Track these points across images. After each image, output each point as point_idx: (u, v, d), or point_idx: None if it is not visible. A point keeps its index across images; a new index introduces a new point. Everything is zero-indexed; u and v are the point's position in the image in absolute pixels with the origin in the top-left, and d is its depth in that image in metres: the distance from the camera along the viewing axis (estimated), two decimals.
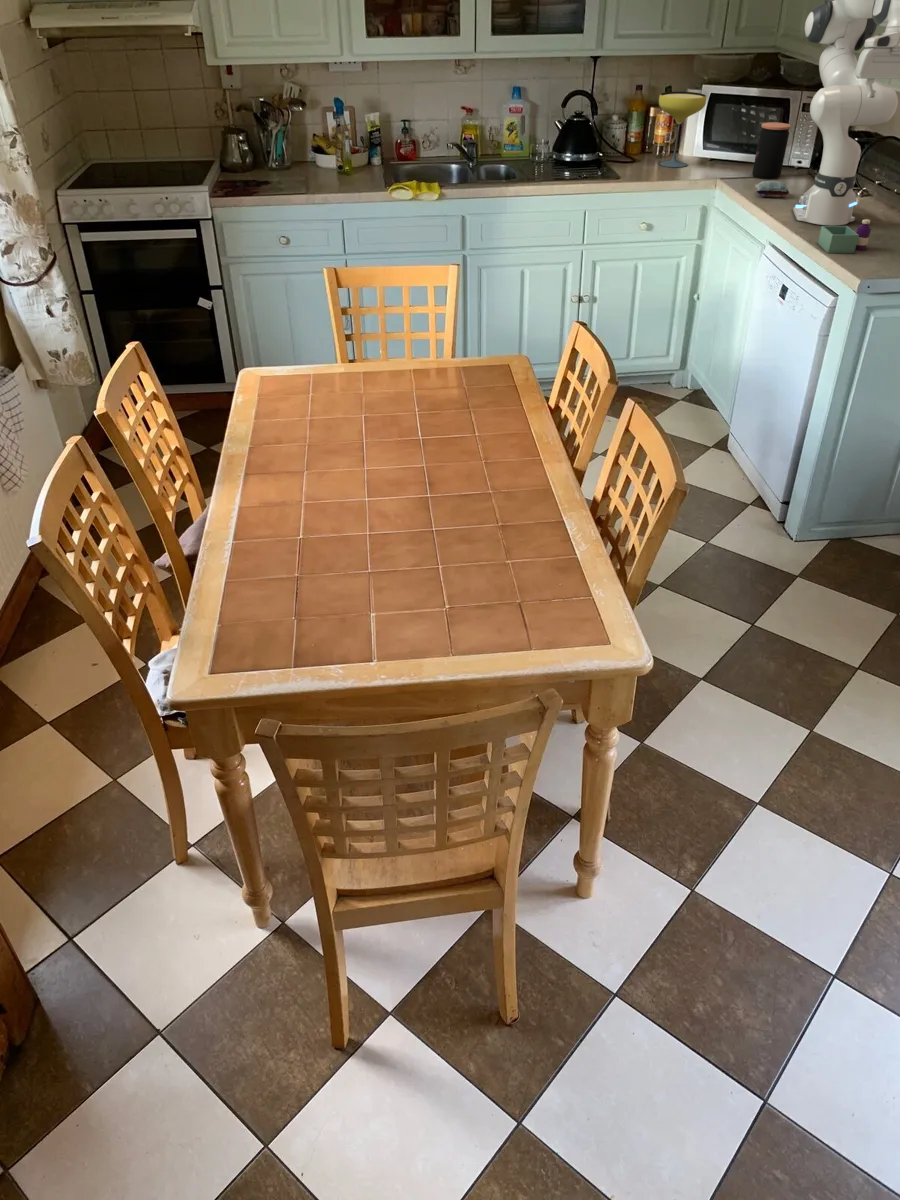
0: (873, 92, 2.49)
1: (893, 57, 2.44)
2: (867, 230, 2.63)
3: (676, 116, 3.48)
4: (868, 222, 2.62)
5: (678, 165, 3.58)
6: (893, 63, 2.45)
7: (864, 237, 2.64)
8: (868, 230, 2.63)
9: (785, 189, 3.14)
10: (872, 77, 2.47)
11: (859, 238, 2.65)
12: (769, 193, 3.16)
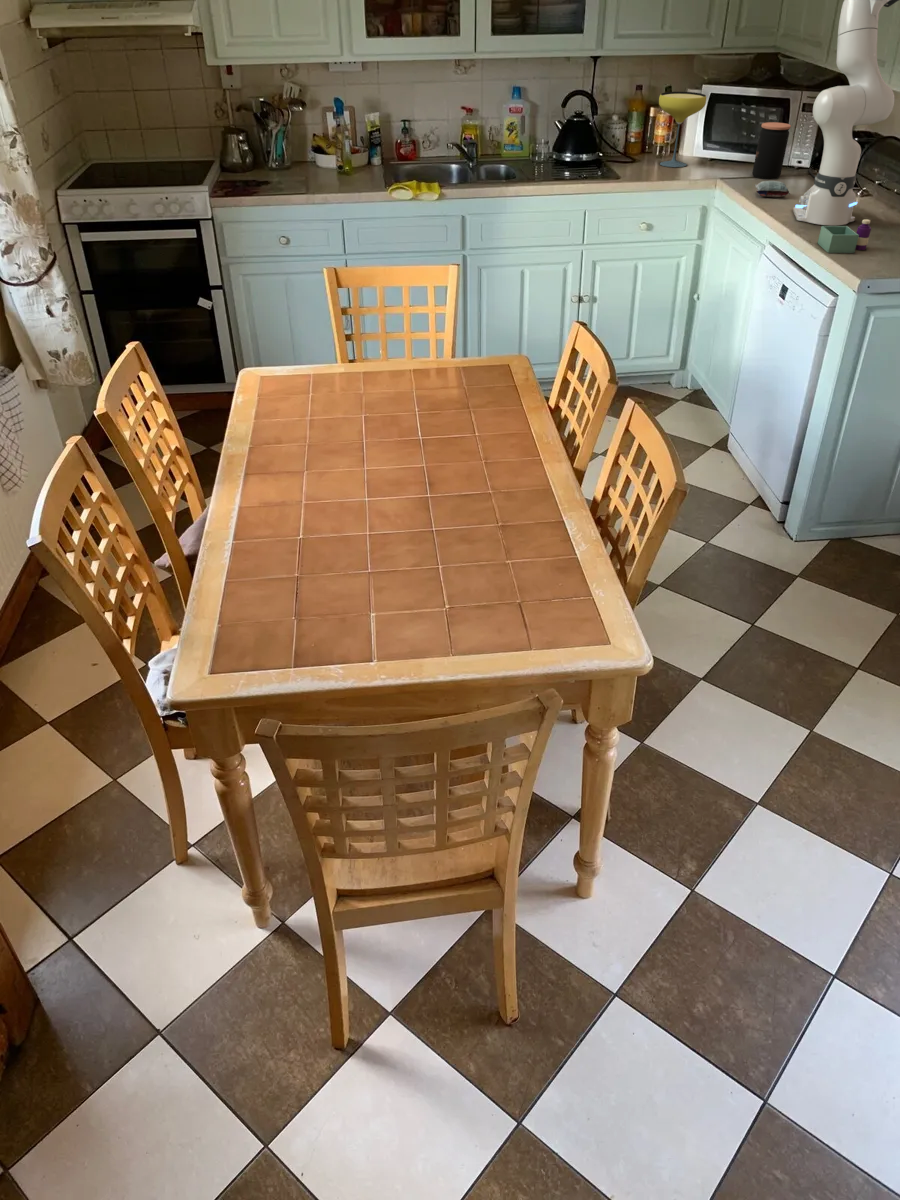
0: None
1: None
2: (867, 230, 2.63)
3: (676, 116, 3.48)
4: (868, 222, 2.62)
5: (678, 165, 3.58)
6: None
7: (864, 237, 2.64)
8: (868, 230, 2.63)
9: (785, 189, 3.14)
10: None
11: (859, 238, 2.65)
12: (769, 193, 3.16)
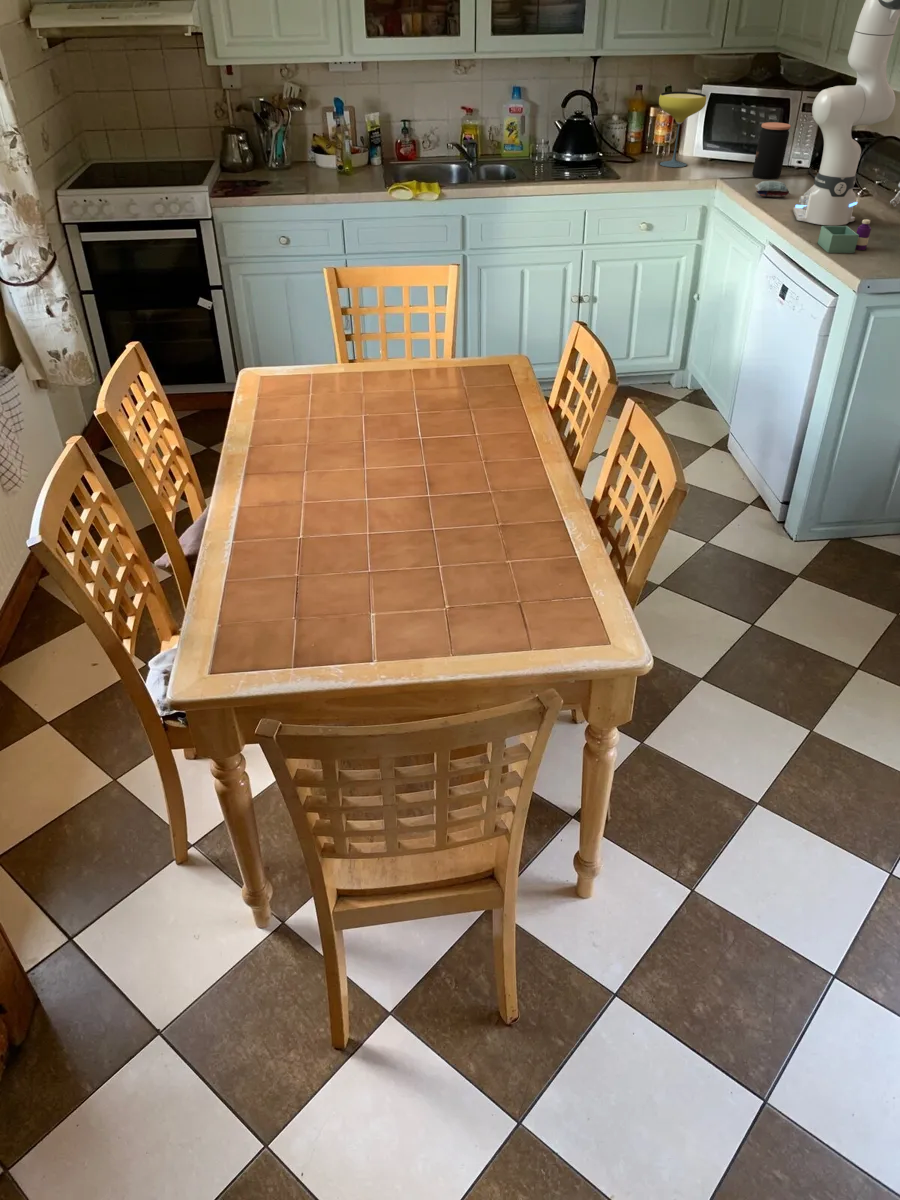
0: None
1: None
2: (867, 230, 2.63)
3: (676, 116, 3.48)
4: (868, 222, 2.62)
5: (678, 165, 3.58)
6: None
7: (864, 237, 2.64)
8: (868, 230, 2.63)
9: (785, 189, 3.14)
10: None
11: (859, 238, 2.65)
12: (769, 193, 3.16)
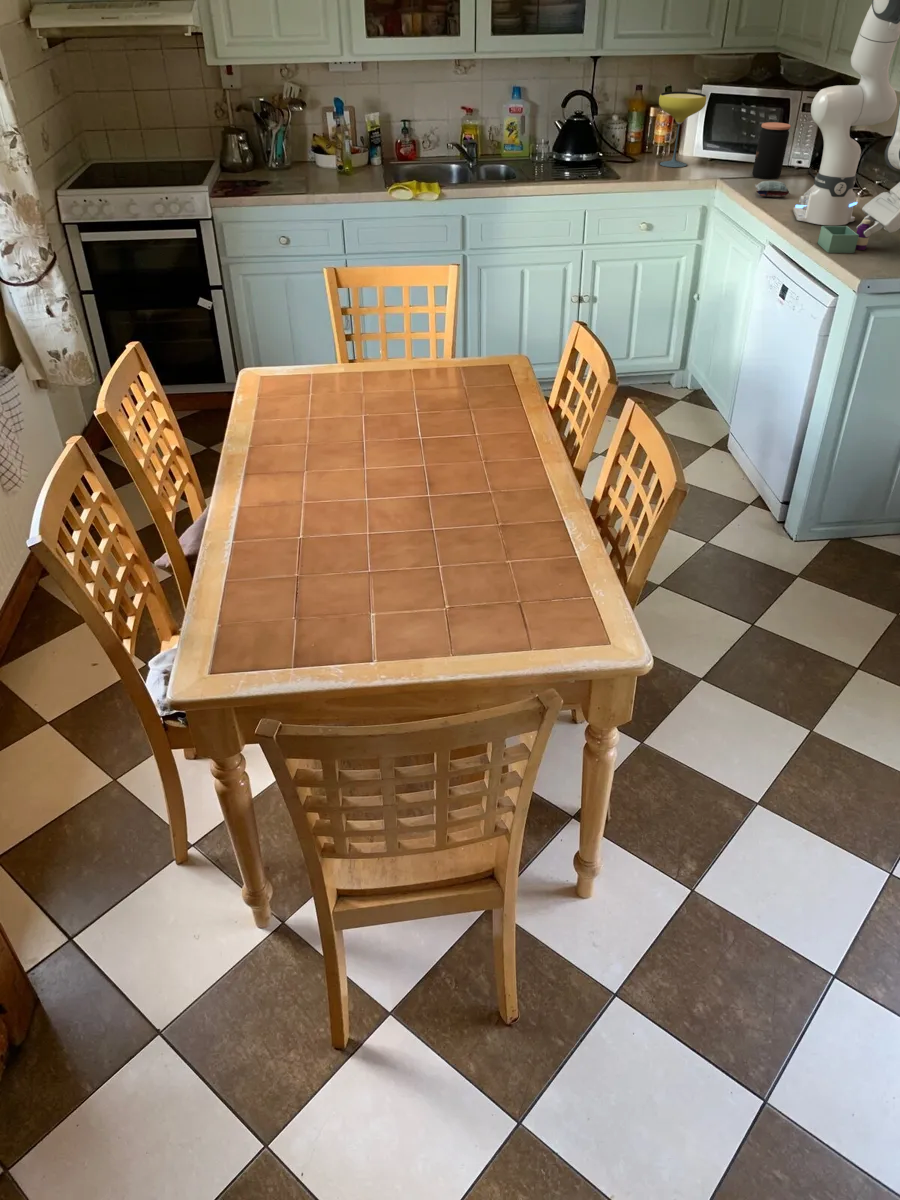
0: None
1: None
2: None
3: (676, 116, 3.48)
4: (868, 222, 2.62)
5: (678, 165, 3.58)
6: None
7: (864, 237, 2.64)
8: None
9: (785, 189, 3.14)
10: None
11: (859, 238, 2.65)
12: (769, 193, 3.16)
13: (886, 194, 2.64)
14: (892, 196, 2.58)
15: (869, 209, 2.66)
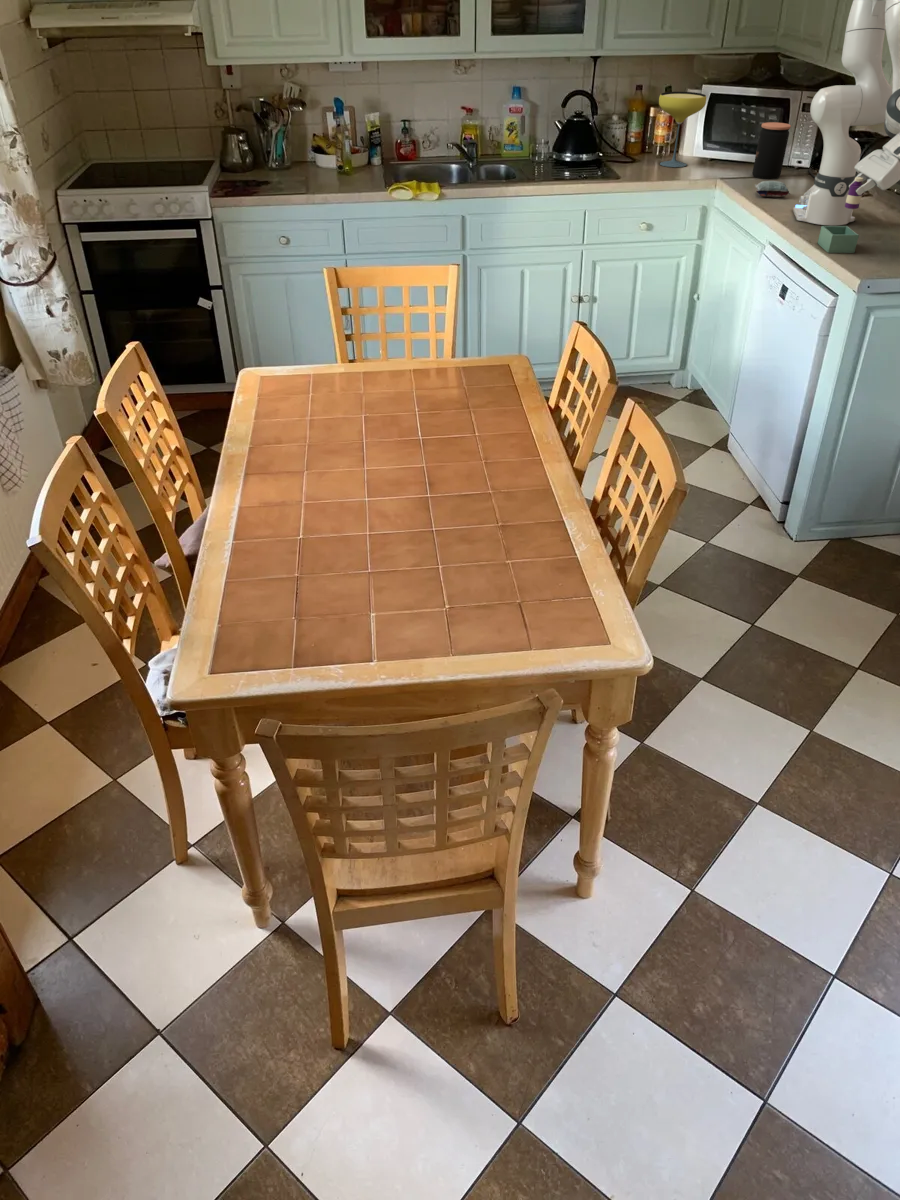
0: None
1: None
2: None
3: (676, 116, 3.48)
4: (861, 180, 2.55)
5: (678, 165, 3.58)
6: None
7: (857, 195, 2.57)
8: None
9: (785, 189, 3.14)
10: None
11: (851, 196, 2.58)
12: (769, 193, 3.16)
13: (879, 151, 2.57)
14: (885, 152, 2.51)
15: (861, 167, 2.59)
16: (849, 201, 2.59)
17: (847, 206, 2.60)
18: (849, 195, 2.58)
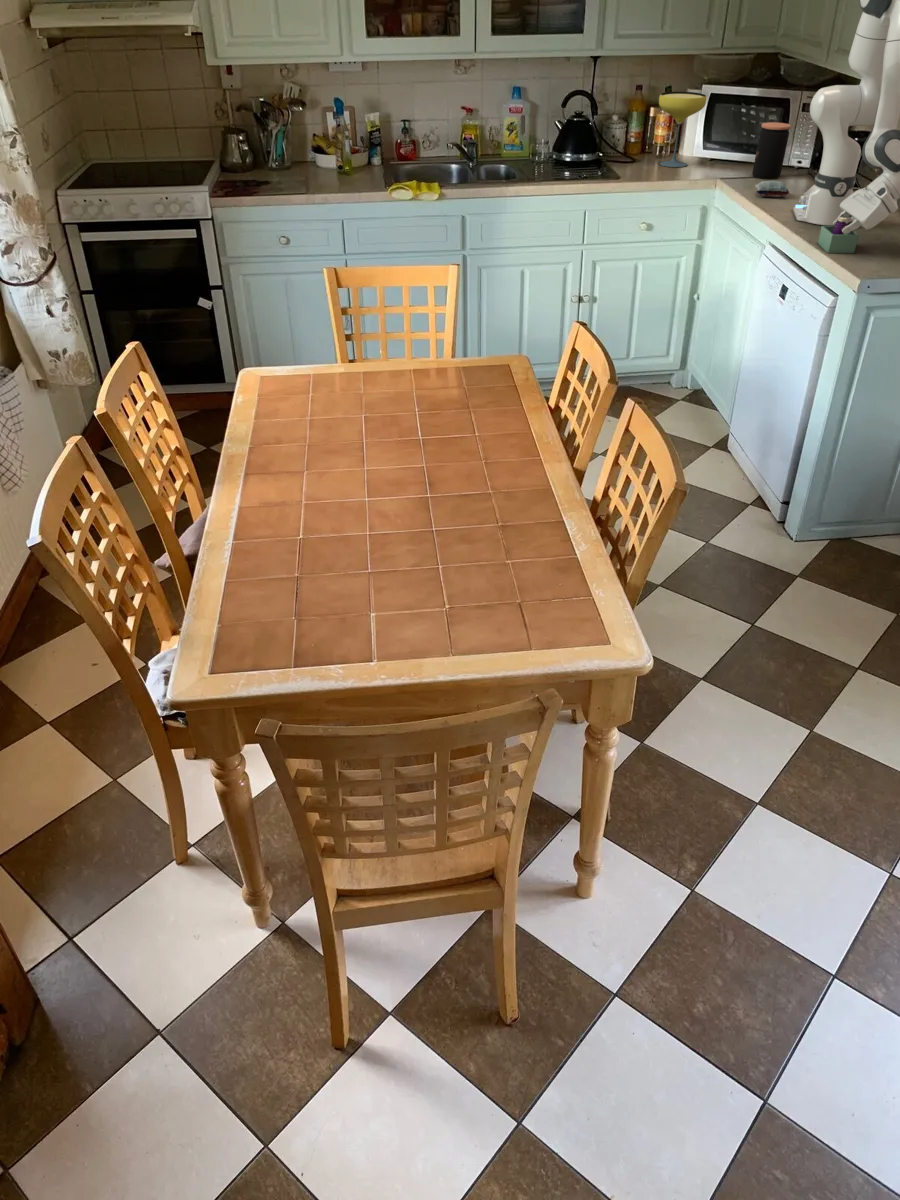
0: None
1: None
2: None
3: (676, 116, 3.48)
4: (845, 220, 2.62)
5: (678, 165, 3.58)
6: None
7: None
8: None
9: (785, 189, 3.14)
10: None
11: None
12: (769, 193, 3.16)
13: (863, 190, 2.63)
14: (869, 192, 2.58)
15: (846, 206, 2.65)
16: None
17: None
18: (834, 234, 2.65)
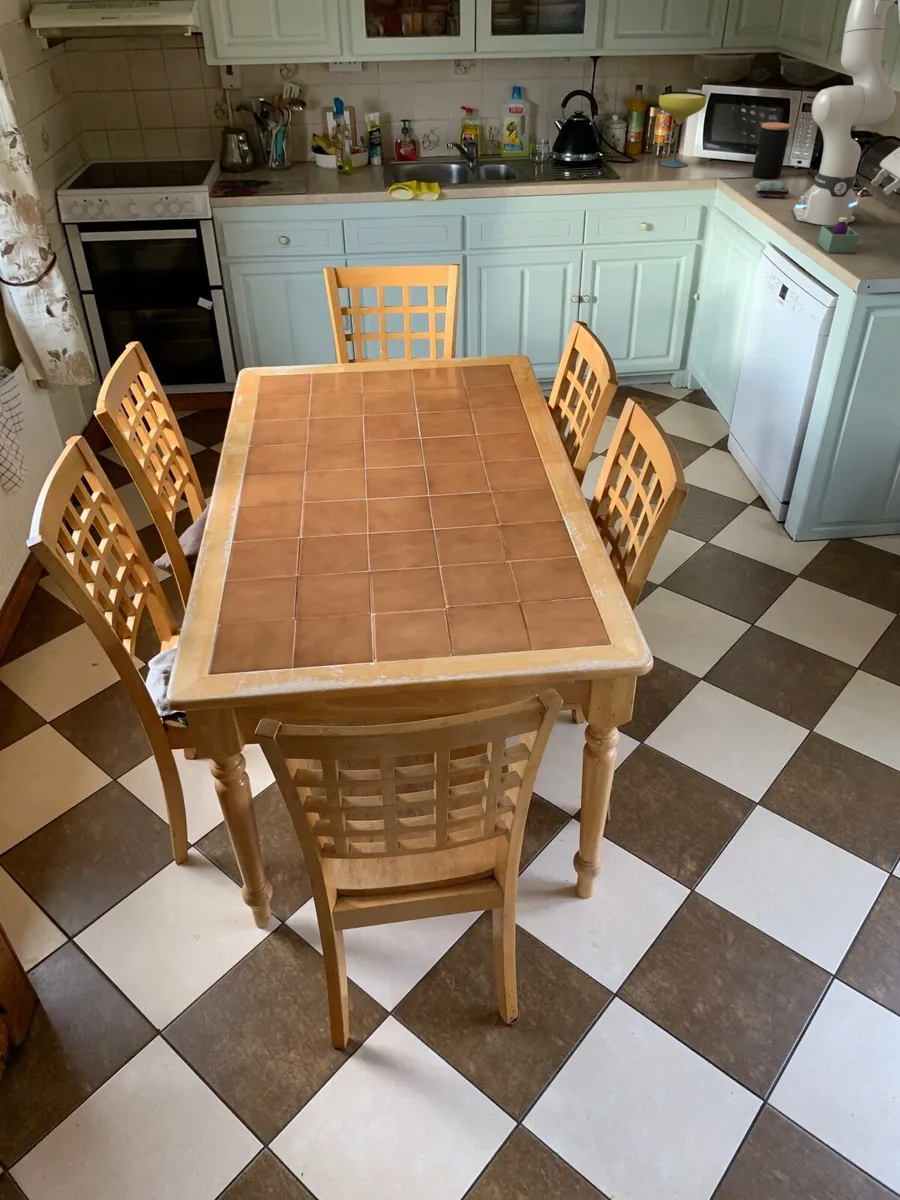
0: None
1: None
2: (844, 228, 2.62)
3: (676, 116, 3.48)
4: (845, 220, 2.62)
5: (678, 165, 3.58)
6: None
7: None
8: (845, 228, 2.62)
9: (785, 189, 3.14)
10: None
11: None
12: (769, 193, 3.16)
13: None
14: None
15: (886, 164, 2.58)
16: None
17: None
18: (834, 234, 2.65)
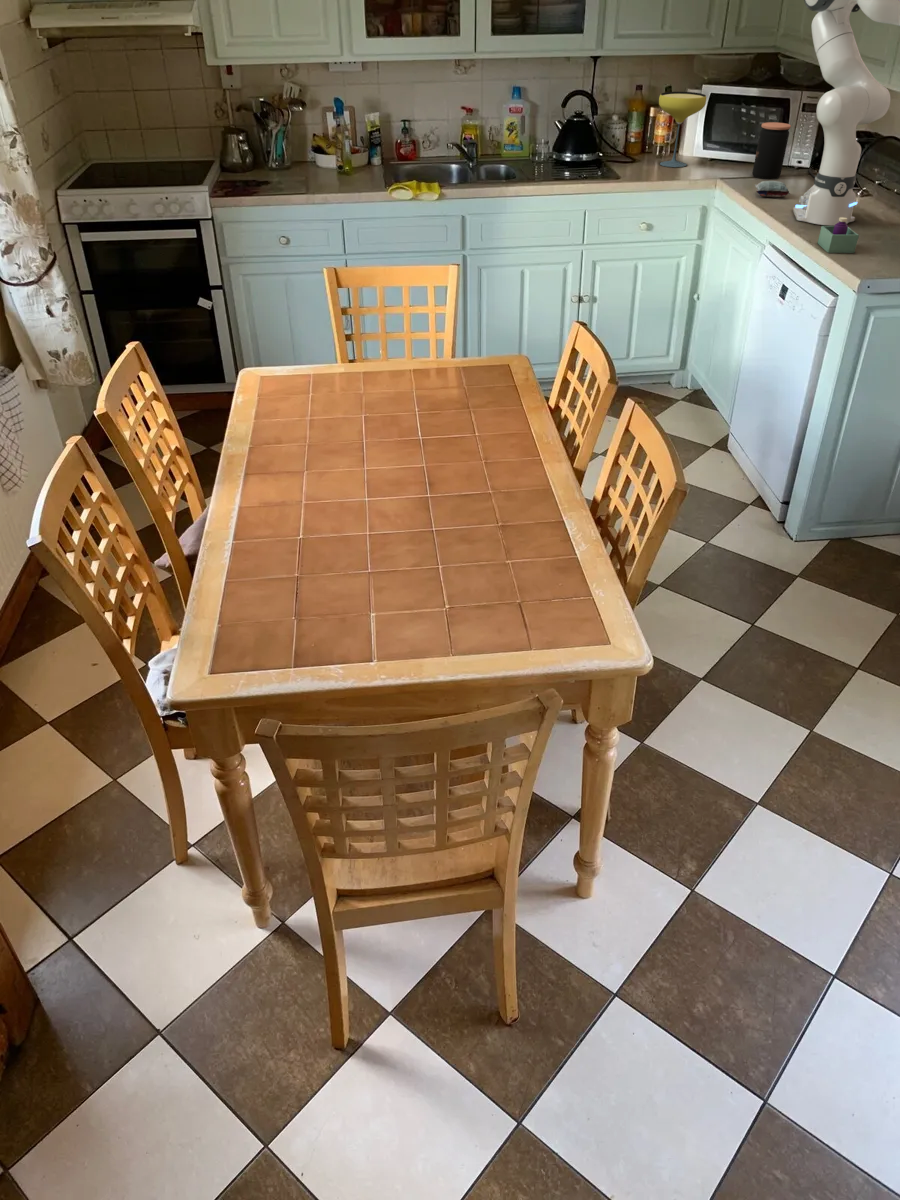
0: None
1: None
2: (844, 228, 2.62)
3: (676, 116, 3.48)
4: (845, 220, 2.62)
5: (678, 165, 3.58)
6: None
7: None
8: (845, 228, 2.62)
9: (785, 189, 3.14)
10: None
11: None
12: (769, 193, 3.16)
13: None
14: None
15: None
16: None
17: None
18: (834, 234, 2.65)
